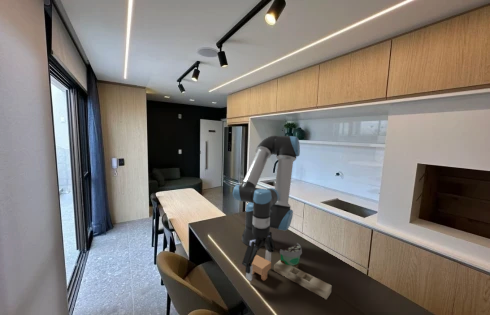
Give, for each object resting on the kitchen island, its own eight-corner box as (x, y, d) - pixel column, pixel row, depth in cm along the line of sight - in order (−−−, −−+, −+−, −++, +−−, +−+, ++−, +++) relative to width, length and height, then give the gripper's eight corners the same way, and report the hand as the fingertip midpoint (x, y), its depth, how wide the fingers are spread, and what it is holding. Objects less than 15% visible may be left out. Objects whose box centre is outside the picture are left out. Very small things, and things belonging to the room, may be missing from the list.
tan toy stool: (247, 274, 89) (247, 260, 89) (256, 268, 94) (256, 254, 93) (261, 283, 84) (262, 268, 83) (270, 276, 89) (271, 262, 88)
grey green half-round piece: (288, 277, 89) (289, 255, 88) (278, 269, 94) (279, 249, 93) (306, 268, 96) (307, 248, 95) (296, 261, 101) (297, 242, 100)
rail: (273, 270, 93) (274, 264, 92) (279, 265, 96) (279, 259, 96) (326, 299, 77) (327, 292, 76) (331, 292, 80) (331, 285, 80)
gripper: (249, 238, 75) (246, 291, 77) (283, 219, 94) (281, 263, 96) (234, 231, 80) (232, 281, 82) (270, 215, 99) (268, 256, 101)
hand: (258, 271), depth 89 cm, fingers open, 13 cm apart
